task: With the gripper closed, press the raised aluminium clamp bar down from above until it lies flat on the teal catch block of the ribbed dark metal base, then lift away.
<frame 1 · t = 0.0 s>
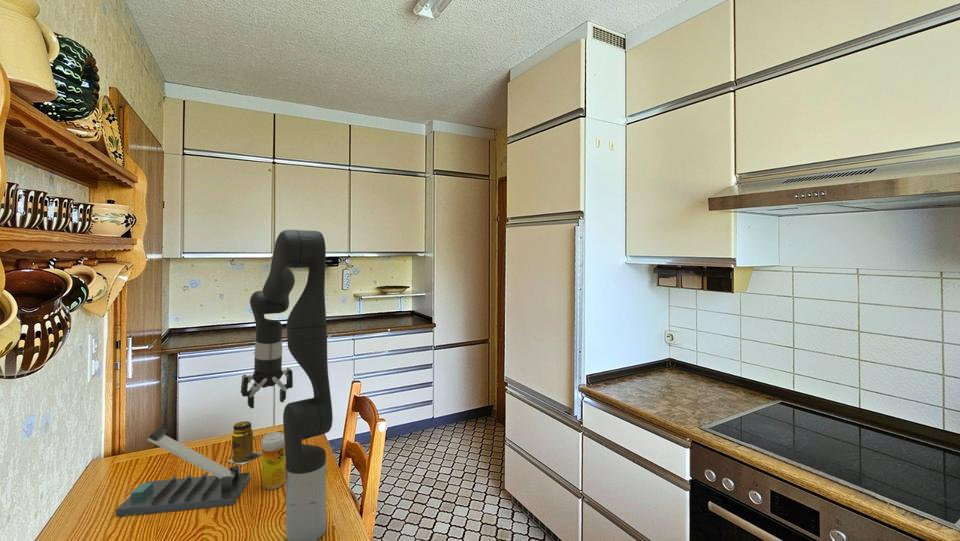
hand: (267, 404, 132), 22 cm above the table, tool pointing down, fingers open, 8 cm apart
condiment: (245, 458, 144), on the table
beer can: (273, 485, 127), on the table
clamp base: (188, 496, 121), on the table
clamp bar: (194, 456, 120), point 12 cm above the table, hinge at 35.0°
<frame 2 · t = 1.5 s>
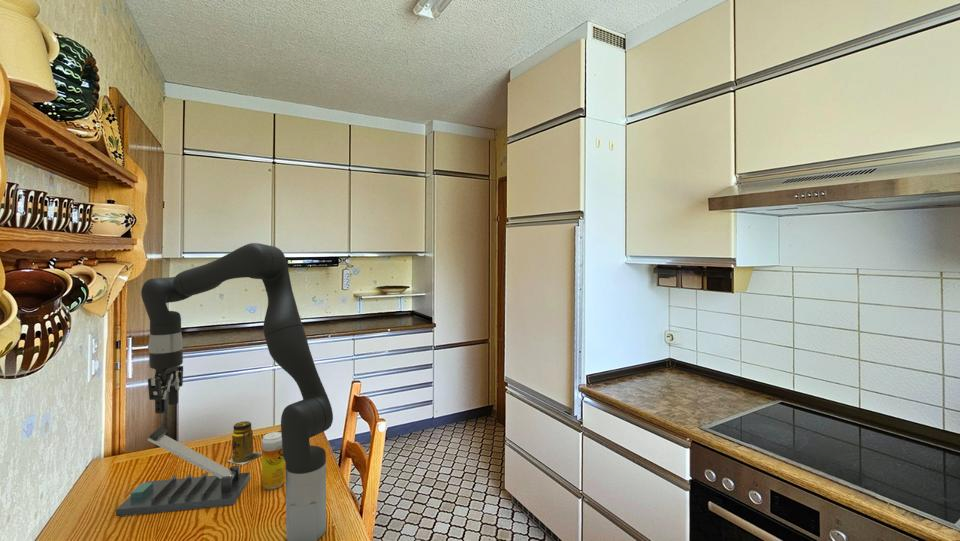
hand: (167, 408, 119), 26 cm above the table, tool pointing down, fingers open, 6 cm apart
nothing on the table moved.
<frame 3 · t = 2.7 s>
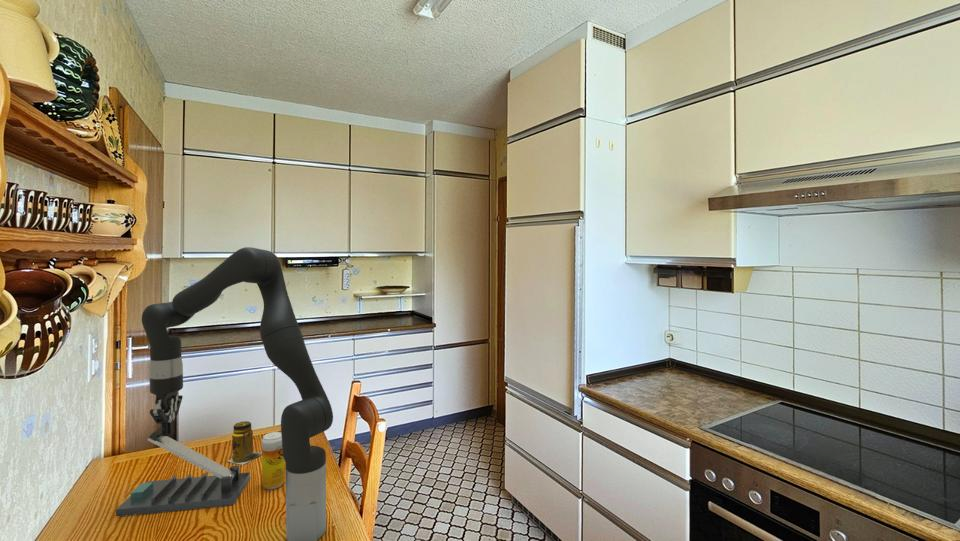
hand: (167, 435, 119), 18 cm above the table, tool pointing down, fingers closed
clamp bar: (194, 456, 120), point 12 cm above the table, hinge at 35.0°, touching gripper
everything else where it was.
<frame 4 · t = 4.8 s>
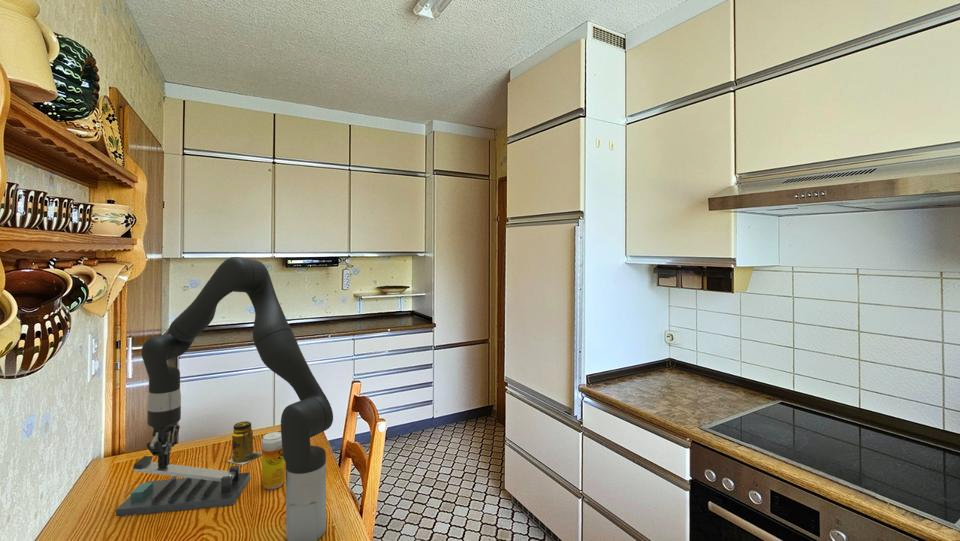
hand: (163, 466, 119), 9 cm above the table, tool pointing down, fingers closed
clamp bar: (187, 470, 120), point 8 cm above the table, hinge at 13.2°, touching gripper
everything else where it was.
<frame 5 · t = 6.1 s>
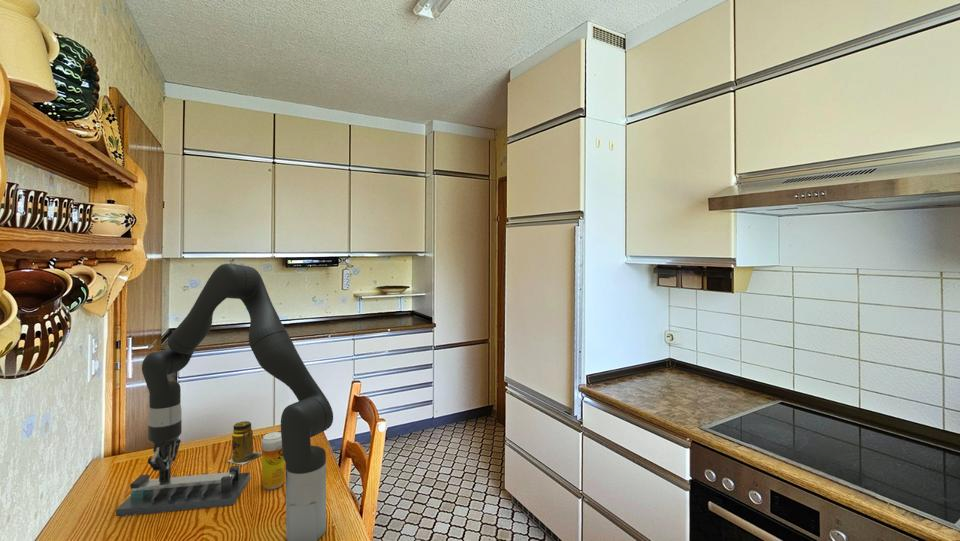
hand: (165, 480, 119), 5 cm above the table, tool pointing down, fingers closed
clamp bar: (185, 479, 120), point 5 cm above the table, hinge at -0.1°, touching gripper
everything else where it was.
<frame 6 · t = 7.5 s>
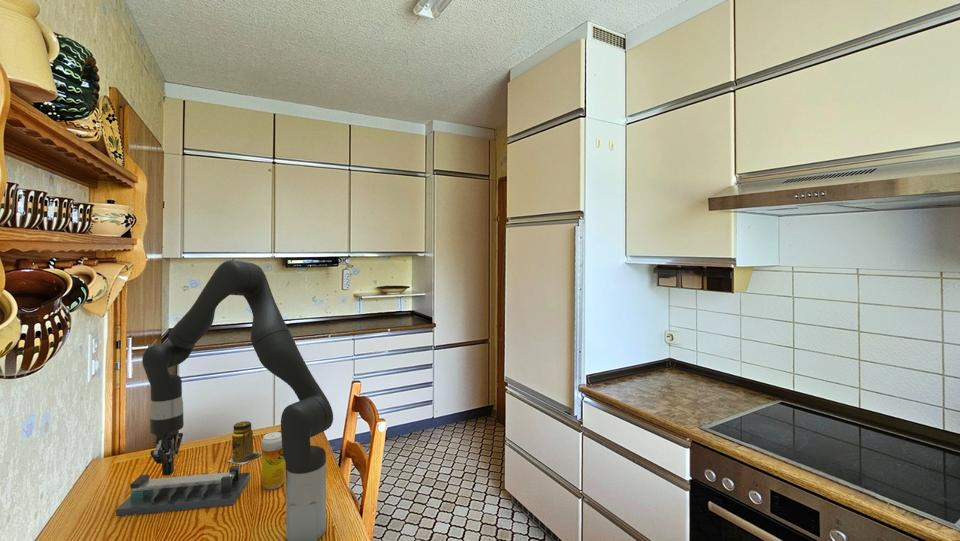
hand: (168, 474, 119), 7 cm above the table, tool pointing down, fingers closed
clamp bar: (185, 479, 120), point 5 cm above the table, hinge at -0.1°
everything else where it was.
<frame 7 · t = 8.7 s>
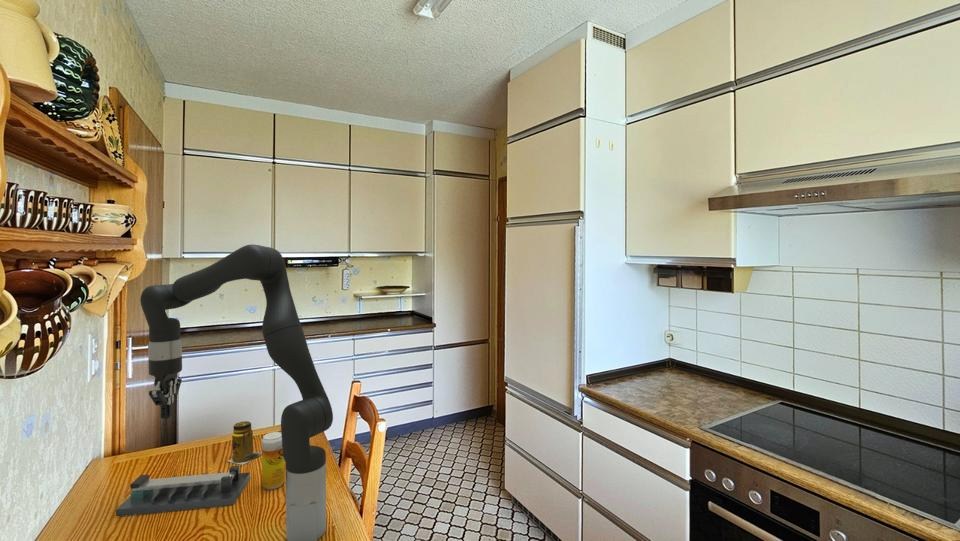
hand: (166, 417, 119), 23 cm above the table, tool pointing down, fingers closed
nothing on the table moved.
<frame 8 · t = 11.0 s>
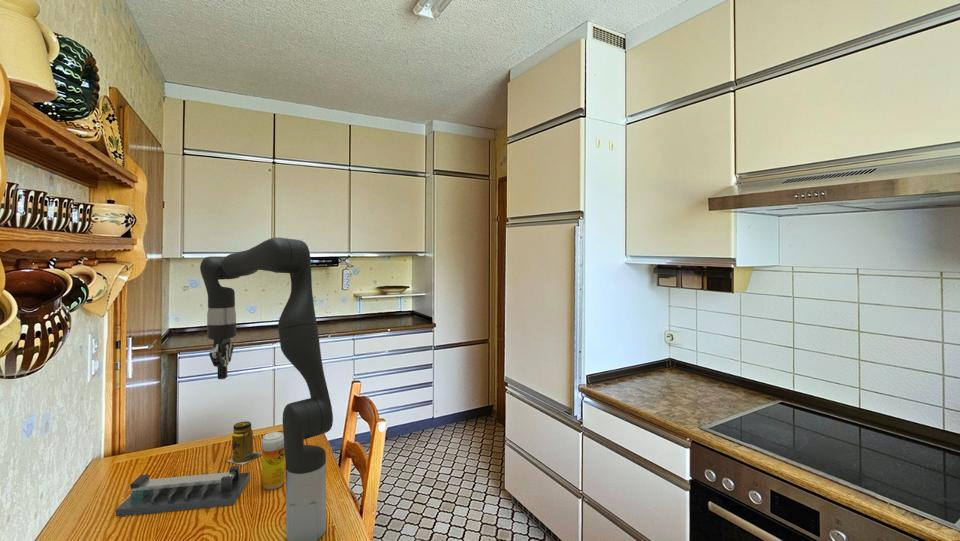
hand: (222, 378, 129), 31 cm above the table, tool pointing down, fingers closed
nothing on the table moved.
at the end: clamp bar at +0° (first picture: +35°); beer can moved 0.2 cm from its start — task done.
